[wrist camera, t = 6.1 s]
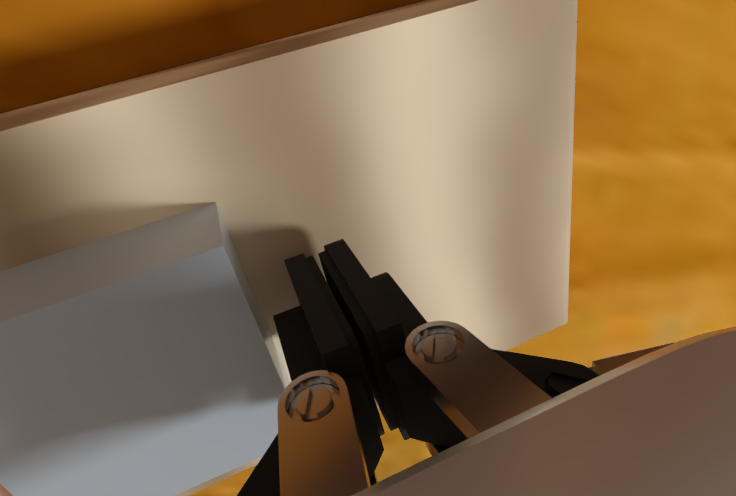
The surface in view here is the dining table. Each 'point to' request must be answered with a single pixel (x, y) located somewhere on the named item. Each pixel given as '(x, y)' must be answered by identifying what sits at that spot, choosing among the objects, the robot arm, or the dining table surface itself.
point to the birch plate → (335, 160)
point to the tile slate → (135, 364)
